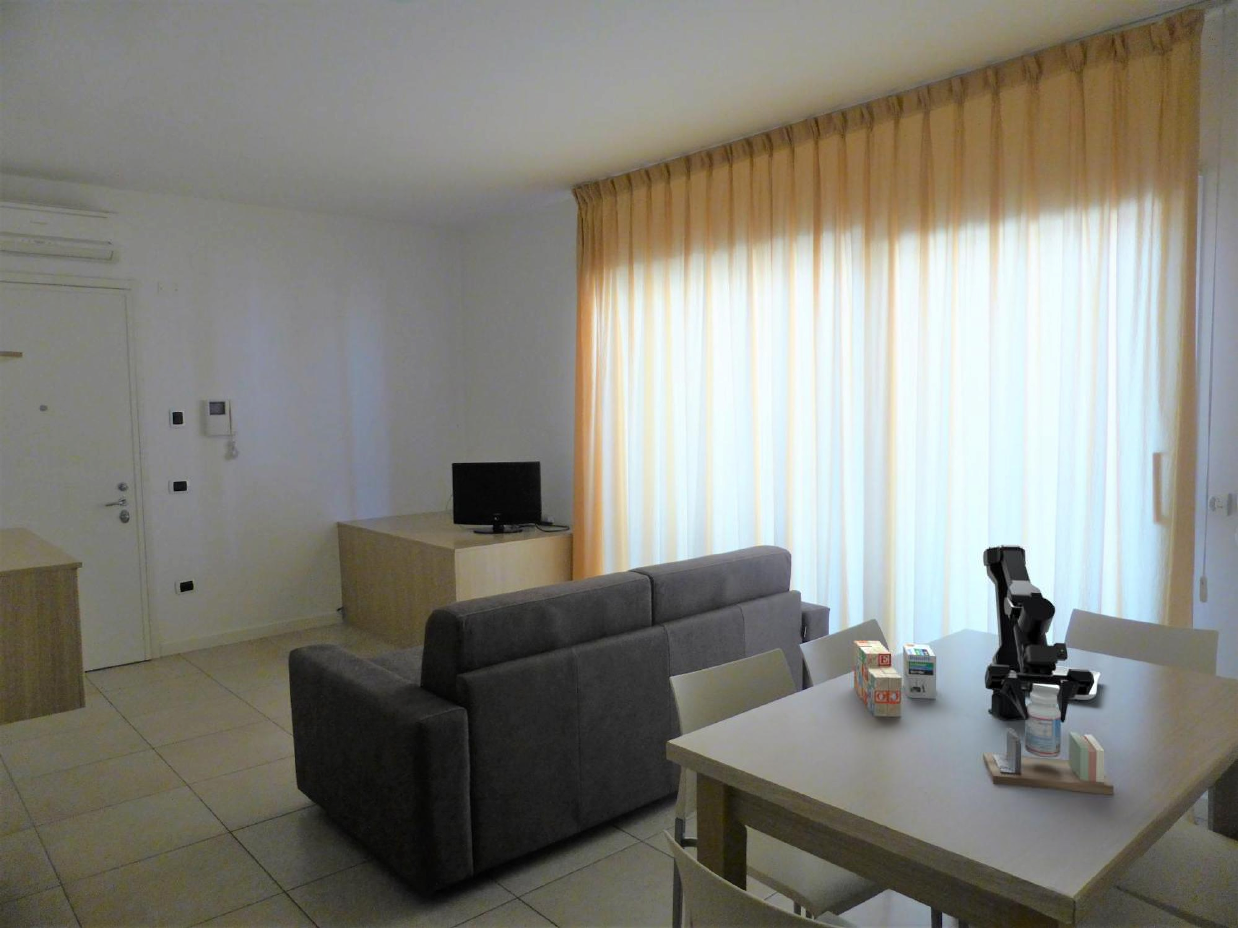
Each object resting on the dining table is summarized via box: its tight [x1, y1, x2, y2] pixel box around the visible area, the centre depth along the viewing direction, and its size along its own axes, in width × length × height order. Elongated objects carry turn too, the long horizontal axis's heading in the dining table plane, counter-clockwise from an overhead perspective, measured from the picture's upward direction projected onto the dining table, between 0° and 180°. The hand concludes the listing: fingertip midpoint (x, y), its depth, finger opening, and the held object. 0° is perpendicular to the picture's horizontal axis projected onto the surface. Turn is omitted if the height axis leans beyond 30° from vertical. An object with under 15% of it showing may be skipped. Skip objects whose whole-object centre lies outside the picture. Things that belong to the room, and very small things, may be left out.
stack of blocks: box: [853, 640, 903, 717], centre depth 202 cm, size 21×6×12 cm, turn 177°
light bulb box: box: [902, 643, 937, 700], centre depth 209 cm, size 11×7×11 cm, turn 168°
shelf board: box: [982, 752, 1114, 795], centre depth 159 cm, size 11×20×2 cm, turn 76°
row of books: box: [1068, 731, 1106, 782], centre depth 157 cm, size 8×4×6 cm, turn 166°
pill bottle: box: [1024, 691, 1062, 758], centre depth 161 cm, size 6×6×11 cm
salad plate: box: [1026, 665, 1101, 701], centre depth 212 cm, size 21×21×3 cm
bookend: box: [993, 727, 1022, 775], centre depth 160 cm, size 8×4×6 cm, turn 166°
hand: (1044, 720), depth 159 cm, fingers closed on pill bottle, 6 cm apart
